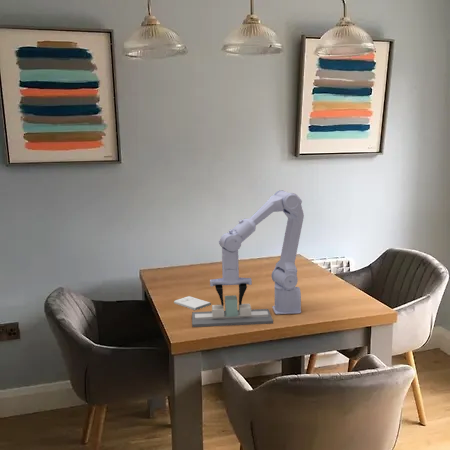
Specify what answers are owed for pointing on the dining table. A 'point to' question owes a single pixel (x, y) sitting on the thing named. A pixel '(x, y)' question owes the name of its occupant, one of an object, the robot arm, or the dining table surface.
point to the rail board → (219, 317)
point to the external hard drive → (192, 303)
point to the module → (231, 306)
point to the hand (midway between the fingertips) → (231, 304)
